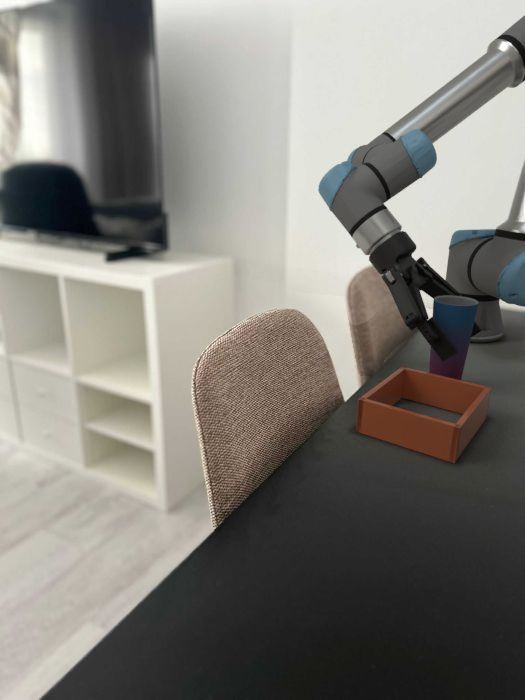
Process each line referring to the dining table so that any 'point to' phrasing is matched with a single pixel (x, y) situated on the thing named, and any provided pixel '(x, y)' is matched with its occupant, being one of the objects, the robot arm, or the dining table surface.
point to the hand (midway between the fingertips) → (463, 345)
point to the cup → (453, 332)
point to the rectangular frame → (420, 429)
